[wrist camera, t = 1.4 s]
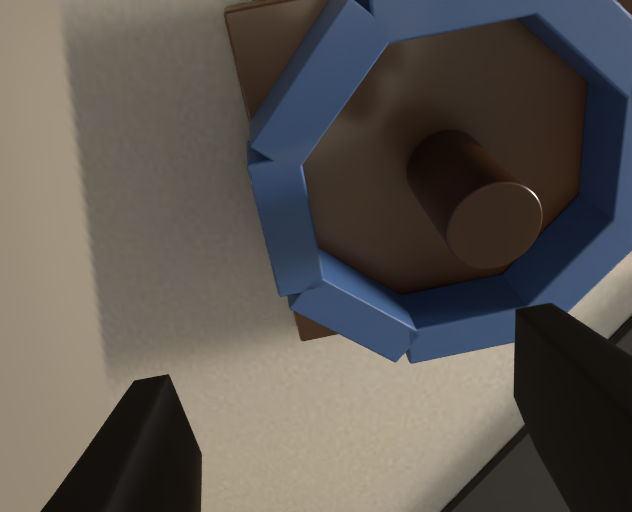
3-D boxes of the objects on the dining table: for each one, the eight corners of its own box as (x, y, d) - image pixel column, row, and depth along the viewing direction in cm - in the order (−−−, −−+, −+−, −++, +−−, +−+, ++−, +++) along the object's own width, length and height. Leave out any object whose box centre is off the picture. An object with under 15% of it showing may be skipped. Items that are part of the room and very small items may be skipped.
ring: (296, 348, 20) (301, 387, 18) (213, 4, 14) (208, 14, 12) (609, 283, 20) (643, 316, 18) (652, -84, 14) (708, -86, 13)
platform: (298, 325, 21) (313, 428, 16) (223, 7, 15) (216, 37, 11) (589, 265, 21) (678, 352, 17) (621, -73, 15) (768, -74, 11)
